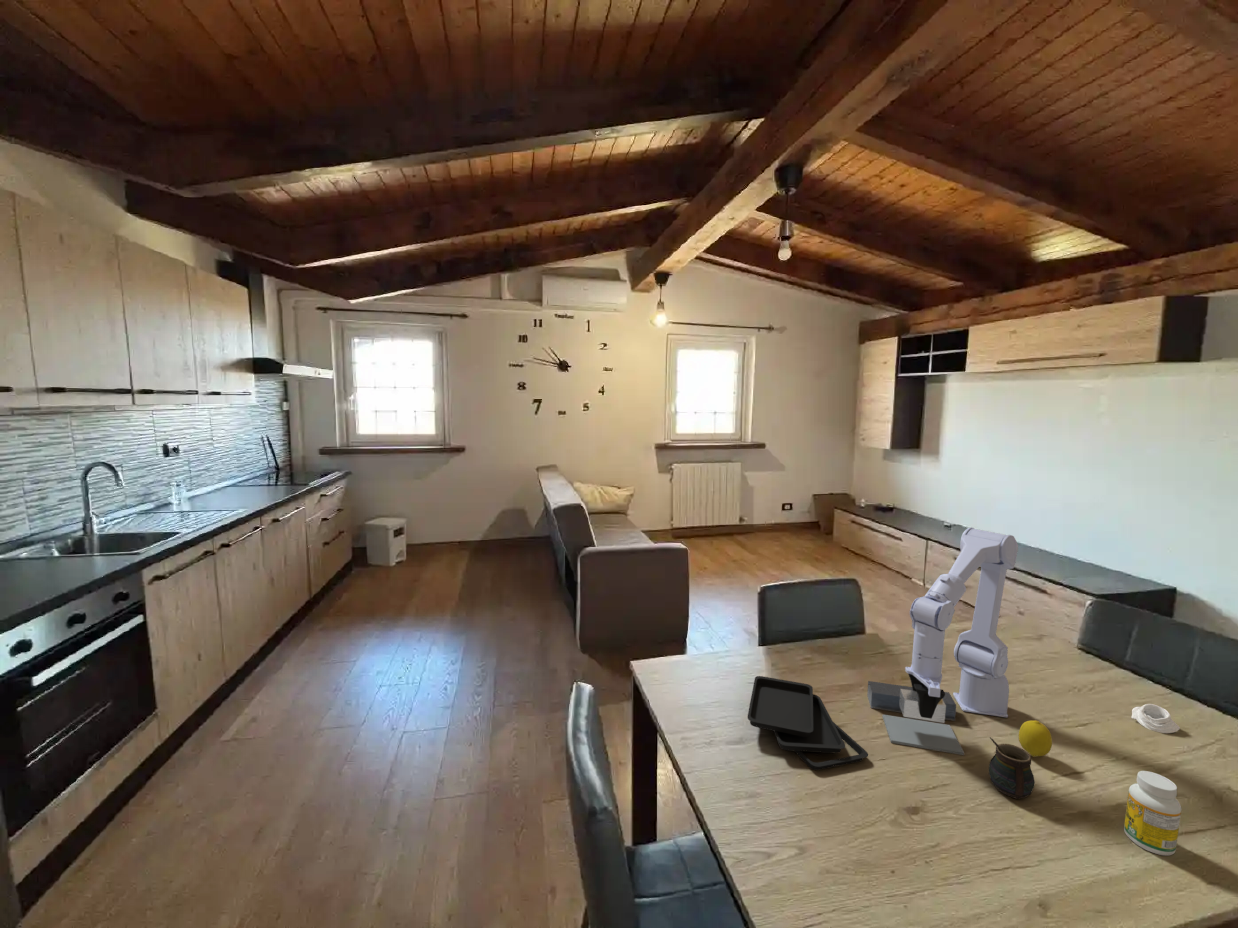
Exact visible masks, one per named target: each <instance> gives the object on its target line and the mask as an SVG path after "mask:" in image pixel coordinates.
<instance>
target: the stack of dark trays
mask: <svg viewBox="0 0 1238 928" xmlns="http://www.w3.org/2000/svg"><path fill="white" fill-rule="evenodd" d="M813 690H814V687H813V686H812V685H811V684H809V683H808V684H807V683H803V682H797V681H791V680H787V679H786V680H785V679H781V678H780V679H779V678H774V677H768V676H763V675H757V676H755V677H754V681H753V687H752V691H751V697H750V703H749V707H748V712H747V720H748V721H749V724H750V725H751V726H752V727H755V728H758V729H759V728H760V729H765V730H769V731H773V733H774V735H775V737H776V741H777V744H778V746H779V748H780V749H781V750H784V751H792V752H795V753H796V755H797V756H798V757H799V758H800V759H801V760H802V761H803V762H804V763H805V764H806V766H807V767H808V768H810V769H811V770H814V771H820V770H825V769H830V768H836V767H838V766H839V767H840V766H844V765H849V764H854V763H858V762H861V761H863V759H864V758H868V757H869V753H868V752H867V751H866V750H865V749H864V748H863V746H861V745H860V744H859V743H858V742H856V741H855V740H854V739H853V738H852V737H851V736H850V735H849V734H847V733H846V731H844V729H842V728H841V727H839V725H837V724H836V723H835V721H833V719H832V718H831V716H830V714H829V712H828V710H827V707H826V706H825V704H824V702H823V700H822V699H821V697H820V696H819V695H817V694H814V691H813ZM845 743H846V744H847V745H848V746H849V747H850V748H851V749H852V750H853V751H854V752H856V753H857V754H855V755H849V756H845V757H840V758H839V757H838V758H836V759H830V760H824V761H821V762H815V761H812V760H810V758H809V757H807V756H806V754H804V752H809V753H827V754H828V753H829V754H839V753H841V751H842V750H844V749H845V748H846V744H845Z"/></svg>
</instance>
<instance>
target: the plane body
mask: <svg viewBox="0 0 1238 928" xmlns="http://www.w3.org/2000/svg"><path fill="white" fill-rule="evenodd" d="M867 683H868V684H867V695H866V696H867V699H868V703H869V706H870V708H871V709H875V710H883V711H889V712H895V713H902V711H901V709H900V706H899V700H900V689H905V690H912V686H906V685H899V684H891V683H884V682H880V681H879V682H878V681H871V680H868V682H867ZM912 691H913V690H912ZM944 692H945V696H944V698H942V699H943V701H944V703H945V705H946V712H945V721H951V722H955V721H956V711H957V704H956V702H955V700H954V699H953V696H952V695H951V693H950V692H948V691H944Z"/></svg>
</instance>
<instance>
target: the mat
mask: <svg viewBox="0 0 1238 928" xmlns="http://www.w3.org/2000/svg"><path fill="white" fill-rule="evenodd" d="M882 720H883V722H884V726H885V729H886V732H887V734H888V735H887V736H888V737H889V740H890V743H891V744H896V745H900V746H901V745H902V746H907V747H908V746H909V747H913V748H920V749H926V750H930V751H937V752H944V753H948V754H955V755H959V756H965V752H964V749H963V747H962V746H961V743H960V742H959V740H958V738H957V737H956V734H955V732H954V731H953V729H952V727H951V725H950V724H945V723H941V722H935V721H928V720H922V719H916V718H909V717H901V716H895V715H890V714H889V715H888V714H882Z"/></svg>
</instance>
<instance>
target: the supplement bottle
mask: <svg viewBox="0 0 1238 928" xmlns="http://www.w3.org/2000/svg"><path fill="white" fill-rule="evenodd" d="M1177 794H1178V787H1177V785H1176V784H1175V783H1174V782H1173V781H1172V780H1170V779H1169V778H1167V777H1165V776H1164V775H1161V774H1159V773H1156V772H1152V771H1147V770H1140V771H1138V772H1137V775H1136V783H1133V784H1131V785H1129V788H1128V793H1127V800H1126V801H1127V802H1126V807H1125V808H1126V809H1125V810H1126V811H1125V815H1124V816H1125V817H1124V826H1123V831H1124V833H1125V834H1126V836H1127V837H1128V838H1129V840H1131V841H1132V842H1133V843H1134V844H1135V845H1137V846H1139V848H1141V849H1143V850H1146V851H1148V852H1150V853H1153V854H1156V855H1159V856H1172V855H1174V854H1175V852H1176V850H1177V845H1178V837H1179V829H1180V823H1181V817H1182V806H1181V804H1180V802H1179V800H1178V799H1177V796H1178V795H1177Z"/></svg>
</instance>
